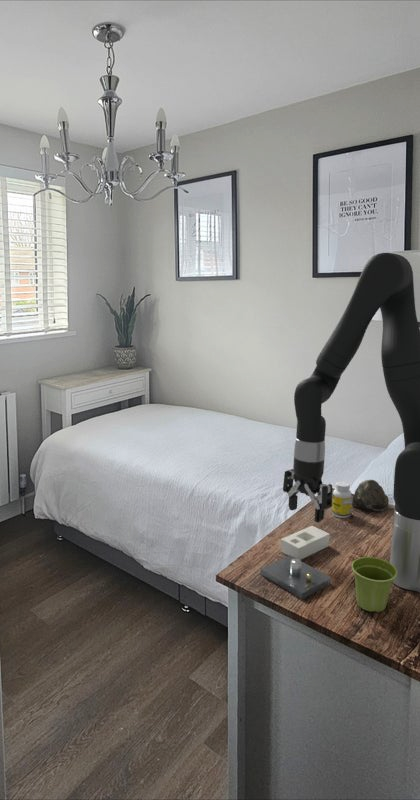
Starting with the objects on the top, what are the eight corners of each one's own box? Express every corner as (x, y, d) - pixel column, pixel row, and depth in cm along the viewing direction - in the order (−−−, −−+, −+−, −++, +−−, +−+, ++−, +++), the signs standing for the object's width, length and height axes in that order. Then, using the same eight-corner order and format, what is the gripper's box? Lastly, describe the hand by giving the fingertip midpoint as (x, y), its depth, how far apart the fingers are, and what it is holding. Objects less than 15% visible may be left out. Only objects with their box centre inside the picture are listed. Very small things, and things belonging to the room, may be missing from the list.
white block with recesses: (311, 537, 142) (311, 525, 142) (328, 546, 138) (329, 533, 137) (280, 551, 135) (281, 539, 134) (298, 560, 131) (298, 548, 130)
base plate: (331, 583, 121) (332, 565, 120) (301, 599, 115) (302, 581, 114) (289, 560, 131) (290, 544, 130) (260, 574, 125) (261, 557, 124)
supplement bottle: (328, 511, 158) (330, 481, 156) (344, 509, 160) (346, 479, 158) (337, 519, 153) (339, 488, 151) (353, 517, 155) (356, 486, 152)
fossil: (381, 516, 154) (367, 484, 154) (354, 522, 160) (340, 491, 160) (393, 502, 162) (380, 473, 163) (367, 509, 168) (354, 480, 169)
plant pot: (402, 604, 113) (405, 568, 111) (380, 624, 107) (383, 586, 105) (363, 586, 120) (365, 552, 118) (340, 604, 113) (343, 567, 111)
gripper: (341, 460, 128) (336, 521, 132) (298, 445, 138) (294, 502, 142) (321, 467, 123) (317, 530, 127) (278, 450, 134) (275, 509, 138)
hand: (305, 515), depth 135 cm, fingers open, 8 cm apart
